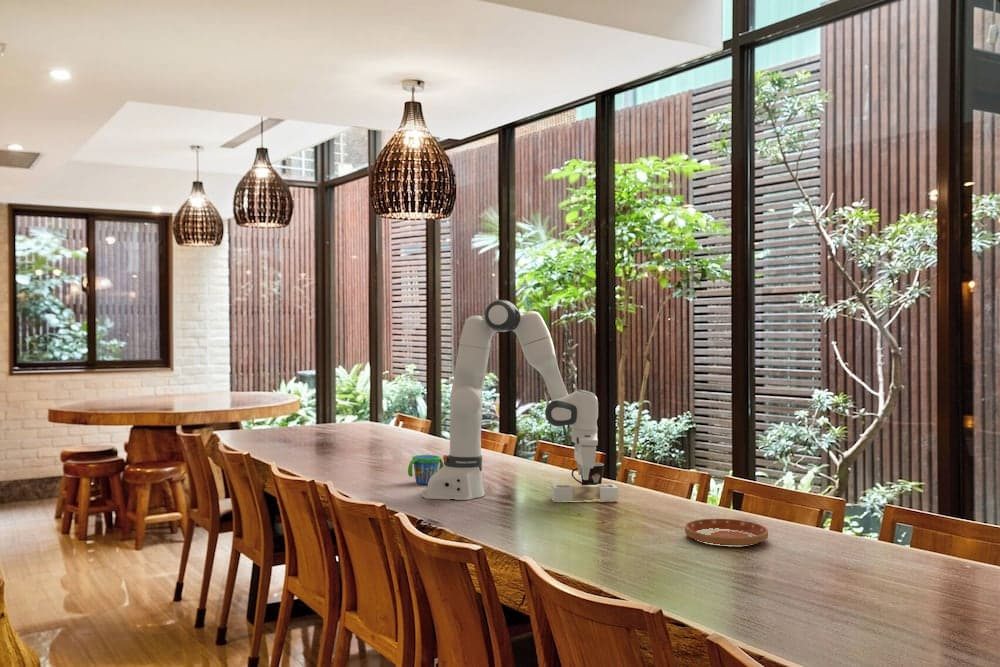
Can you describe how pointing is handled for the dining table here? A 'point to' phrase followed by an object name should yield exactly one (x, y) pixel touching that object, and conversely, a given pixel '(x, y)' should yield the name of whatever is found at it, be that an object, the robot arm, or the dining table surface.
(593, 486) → the slat
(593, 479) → the coffee mug
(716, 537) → the saucer
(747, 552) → the dining table surface
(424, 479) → the snack cup
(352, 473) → the dining table surface
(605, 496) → the endcaps
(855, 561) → the dining table surface
